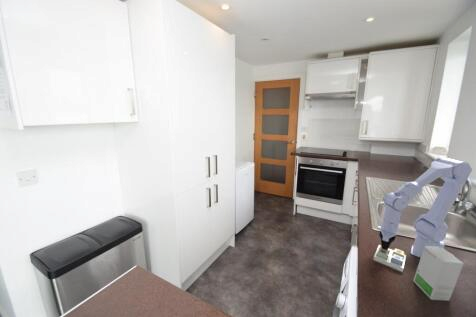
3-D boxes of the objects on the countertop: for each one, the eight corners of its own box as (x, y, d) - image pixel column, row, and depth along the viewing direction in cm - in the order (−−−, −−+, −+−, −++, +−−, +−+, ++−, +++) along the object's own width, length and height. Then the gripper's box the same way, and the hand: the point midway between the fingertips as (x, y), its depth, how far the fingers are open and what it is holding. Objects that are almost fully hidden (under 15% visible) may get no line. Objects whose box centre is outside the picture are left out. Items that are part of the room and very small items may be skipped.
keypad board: (405, 259, 91) (406, 255, 91) (402, 272, 83) (403, 268, 83) (378, 248, 98) (378, 244, 97) (373, 260, 90) (374, 256, 89)
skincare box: (412, 281, 79) (422, 244, 76) (430, 282, 79) (441, 245, 75) (431, 300, 71) (443, 261, 67) (451, 302, 71) (464, 262, 67)
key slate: (401, 261, 87) (403, 257, 86) (401, 266, 84) (402, 261, 84) (392, 258, 89) (393, 253, 88) (391, 262, 86) (392, 257, 86)
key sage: (387, 256, 90) (388, 251, 89) (386, 259, 87) (387, 255, 87) (378, 252, 92) (379, 248, 91) (377, 256, 90) (378, 251, 89)
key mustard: (403, 255, 90) (404, 251, 90) (402, 259, 88) (403, 254, 87) (394, 252, 92) (395, 247, 92) (393, 256, 90) (394, 251, 89)
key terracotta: (388, 252, 94) (389, 248, 93) (387, 256, 91) (388, 251, 91) (380, 249, 96) (381, 245, 95) (378, 252, 93) (379, 248, 93)
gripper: (382, 211, 98) (377, 237, 101) (376, 223, 87) (370, 251, 90) (401, 217, 93) (395, 244, 96) (397, 230, 83) (390, 260, 86)
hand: (384, 248), depth 93 cm, fingers closed, pressing on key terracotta
